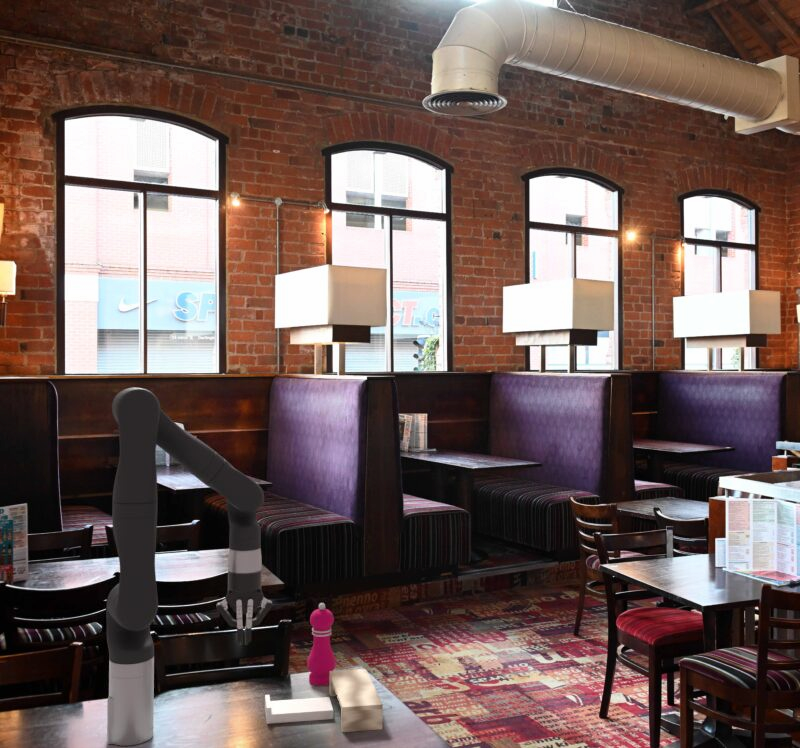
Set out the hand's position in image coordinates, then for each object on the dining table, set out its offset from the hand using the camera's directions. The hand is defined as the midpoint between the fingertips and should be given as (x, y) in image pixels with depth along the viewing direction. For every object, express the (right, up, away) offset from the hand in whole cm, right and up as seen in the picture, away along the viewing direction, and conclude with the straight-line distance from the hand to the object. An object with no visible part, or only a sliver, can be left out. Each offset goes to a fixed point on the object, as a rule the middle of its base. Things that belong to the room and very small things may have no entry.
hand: (244, 643), depth 199 cm
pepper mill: (+15, -17, +24) cm, 33 cm away
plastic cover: (+13, -17, +3) cm, 21 cm away
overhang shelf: (+25, -17, +5) cm, 31 cm away
